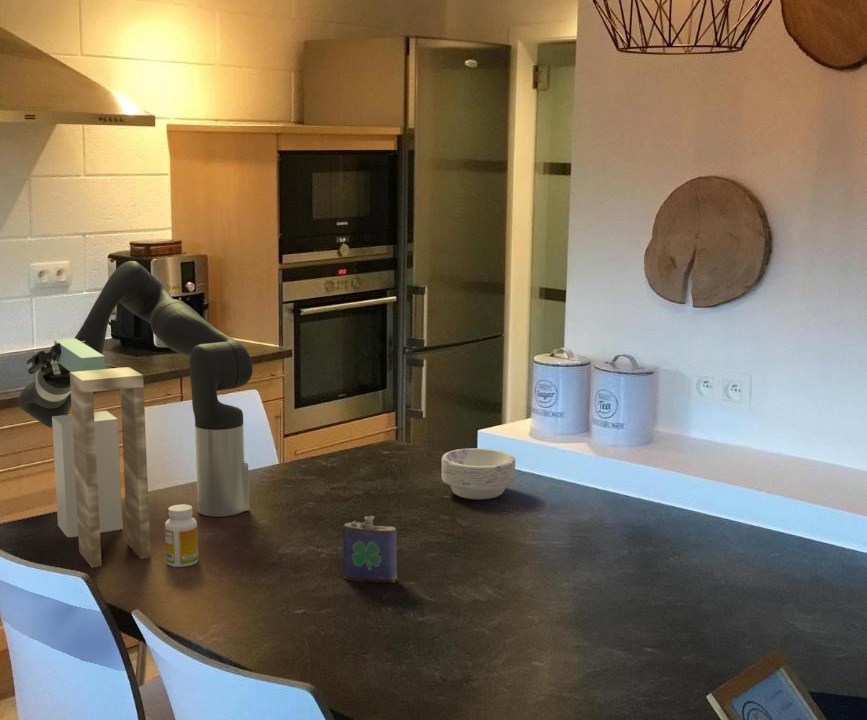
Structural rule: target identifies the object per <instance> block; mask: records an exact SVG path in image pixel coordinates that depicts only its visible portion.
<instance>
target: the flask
mask: <svg viewBox="0 0 867 720" xmlns="http://www.w3.org/2000/svg"><path fill="white" fill-rule="evenodd" d="M363 519H364V520H365V521H364V522H359V521H356V520H354V521H352V522H347V523H344V525H343V526H342V577H343V579H346V580H350V581H354V582H355V581H356V582H368V583H377V584H378V583H379V584H380V583H381V584H393V583H396V581H397V580H398V572H397V571H398V570H397V569H398V567H397V565H398V564H397V563H398V557H397V548H398V546H397V537H398V531H397V528H396V527H395V526H384V525H374V521H373V520H375V516H373V515H370V516H367V515H366V516H364V518H363Z"/></svg>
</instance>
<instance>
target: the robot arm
mask: <svg viewBox="0 0 867 720" xmlns="http://www.w3.org/2000/svg"><path fill="white" fill-rule="evenodd" d="M119 303H120V304H121V305H122V307H124V308H126V309H127V310H128V311H129V312H131V313H132V314H134V315H135V316H137V317H139V318H140V319H142V320H144V321H146V322H147V324H150V325H149V326H150V328H151V330H152V332H153V334H154V335H155V337H156V338H157V339H158V340H160V342H161V343H162V344H163V345H165V346H166V347H167V348H169V349H170V350H171V351H174V352H176V353H177V354H181V355H184V356H187V357H189V365H188V366H189V380H190V389H191V391H190V392H191V403H192V411H193V416H194V432H195V433H194V434H195V436H194V437H195V458H196V459H195V460H196V490H197V491H196V492H197V500H196V501H197V512H198V514H201V515H203V516H205V517H217V518H218V517H221V518H222V517H229V516H235V515H238V514H241V513H244V512H247V511H250V490H249V489H250V487H249V486H250V485H249V484H250V482H249V464H248V462H247V461H245V440H244V439H245V438H244V437H245V436H244V413H243V410H242V409H241V408H240V407H237V406H234V405H230V404H226V403H225V404H224V403H222V402H220V401H219V399H218V393H217V391H218V392H219V391H226V390H234V389H239V388H242V387H244V386H246V384H248V382H250V380H251V378H252V375H253V370H254V368H253V362H252V359H251V356H250V353H249V352H248V351H247V349H246V348H245V346H244V345H243V344H242V343H241V342H239V341H238V340H237V339H234V338H232V337H231V336H230V335H227V334H225V333H224V332H222V331H220V330H219V329H217V328H216V327H215V326H213V325H212V324H211V323H210V322H209V321H207V320H206V319H205V318H203V317H202V316H201V315H200V314H199V313H198V312H197V311H196V310H195V309H193V308H192V307H191V306H190V305H188V304H187V303H185V301H182V300H179V299H177V298H176V299H174V298H173V297H172V296H171V295H170V293H169V292H168V291H167V289H166V288H165V287H164V285H163V284H162V283H161V282H160V280H159V279H158V278H157V277H155V276H154V275H153V274H152V273H151V272H149V271H148V270H147V269H146V268H145V267H144V266H143V265H141V264H140V263H139V262H138V261H135V260H129V261H125V262H123V263H122V264H120V265H119V266H118V267H117V268H116V269H115V270H114V272H112V274H111V275H110V277H109V278H108V279H107V281H106V282H105V284H104V286H103V287H102V289H101V292H100V293H99V295H98V297H97V298H96V300H95V302H94V303H93V305H92V307H91V308H90V311H89V313H88V315H87V316H86V318H85V320H84V322H83V324H82V325H81V327H80V329H79V330H78V332H77V333H76V335H75V337H74V338H73V339H77V340H79V341H81V342H82V343H84V344H85V345H87V346H89V347H90V348H92V349H94V350H95V351H97V352H99V353H100V354H102V355H103V352H104V348H105V343H106V336H107V328H108V325H109V322H110V318H111V316H112V314H113V312H114V310H115V308H116V307H117V306H118V304H119ZM60 355H61V346H60V343H56V344H55V345H54V344H53V345H52V346H51V347H50V349H49V350H48V351H47V352H46V351H45V350H41V351H38V352H37V353H35V354H34V355H33V356H32V357H30V358H28V360H27V361H26V367H27V373H28V374H29V375H33V374H36V373H37V375H36V376H35V380H34V381H31V382H30V383H29V384H27V385H26V386H25V387H24V388H23V390H22V391H21V392H20V394H19V396H18V402H17V403H18V405H19V407H20V409H22V411H24V412H25V413H26V414H28V415H29V416H31V417H32V418H34V419H35V420H36V421H38V422H40V423H41V424H42V425H44V426H46V427H48V428H51V429H53V427H52V416H62V415H69V412H70V411H71V409H72V403H71V385H70V371H69V370H67V369H66V368H65V367H63V366H62V365H61V364H59V363H58V362H57V360H59V357H60Z"/></svg>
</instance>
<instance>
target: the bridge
mask: <svg viewBox="0 0 867 720" xmlns="http://www.w3.org/2000/svg"><path fill="white" fill-rule="evenodd" d="M70 385H71V403H72V405H71V415H72V422H73V441H74V460H75V479H76V498H77V517H78V536H77V537H78V552H79V554H80V555H81V556H82V557H83V559H84V560H85V561H86V562H87V564H89V566H90V568H92V569H93V568H98V567H102V550H101V549H102V548H101V533H100V524H99V504H98V484H97V464H96V444H95V423H94V412H95V408H94V407H95V406H94V393H95V392H103V391H115V390H119V392H120V393H119V395H120V411H121V413H120V414H121V416H120V417H121V431H122V432H121V433H122V454H123V455H122V456H123V476H124V477H123V478H124V479H123V480H124V498H125V499H124V500H125V502H124V504H125V520H126V521H125V522H126V523H125V524H126V542H127V543H126V544H128V545H129V546H130V547H131V548H132V549H133V550H134V551H133V550H132V549H131V548H130V547H129V546H128V545H127V546H128V547H129V548H130V549H131V550H132V551H133V552H134V553H135V552H136V553H137V554H136V553H135V554H136V555H137V556H138V557H139V558H140V559H141V560H144V558H146V559H150V558H149V557H151V558H152V556H151V555H152V553H151V533H150V532H151V531H150V510H149V509H150V508H149V504H150V503H149V484H148V483H149V481H148V461H147V460H148V459H147V438H146V437H147V436H146V415H145V413H146V411H145V391H144V390H145V389H144V388H145V387H144V374H142V373H140V372H138V371H136V370H135V369H133V368H131V367H130V366H129V367H127V366H126V367H125V366H124V367H115V368H113V367H112V368H105V369H100V370H89V371H77V372H70Z"/></svg>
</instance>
